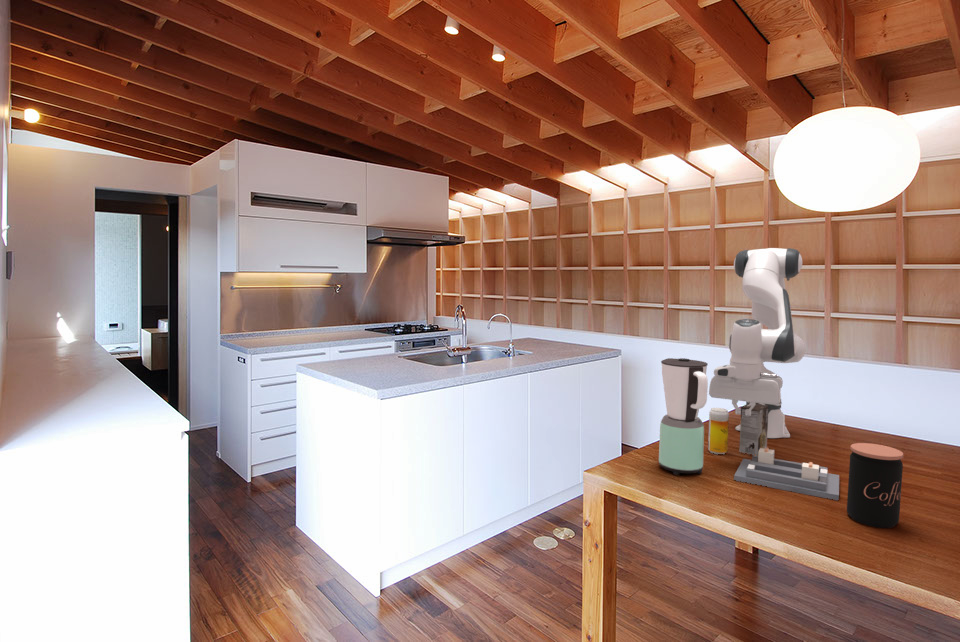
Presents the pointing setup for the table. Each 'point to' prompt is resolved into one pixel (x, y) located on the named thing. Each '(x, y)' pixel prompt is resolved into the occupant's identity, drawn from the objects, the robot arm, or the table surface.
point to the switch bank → (788, 477)
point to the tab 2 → (810, 471)
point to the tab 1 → (766, 456)
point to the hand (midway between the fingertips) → (743, 414)
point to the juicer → (683, 415)
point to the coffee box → (753, 429)
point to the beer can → (718, 430)
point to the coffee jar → (874, 485)
